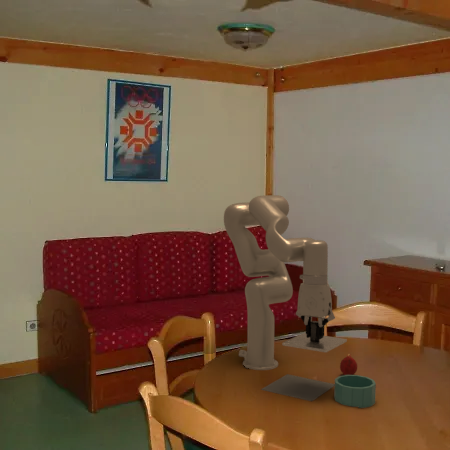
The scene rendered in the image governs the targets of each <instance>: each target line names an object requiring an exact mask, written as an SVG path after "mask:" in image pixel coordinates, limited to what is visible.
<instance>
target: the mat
mask: <svg viewBox="0 0 450 450" xmlns="http://www.w3.org/2000/svg"><path fill="white" fill-rule="evenodd" d="M333 388H335V383H331V382H325V381H322V380H318V379H312V378H308V377H307V378H306V377H304V376H303V377H302V376H298V375H294V374H288V373H287V374H285V375H284V376H282V377H280V378H279V379H276V380H275V381H273V382H271V383H270V384H268V385H265V386H264V387H263V388H261V389H260V390H261V391H265V392H270V393H274V394H278V395H281V396H287V397H292V398H295V399H299V400H303V401H308V402H314V401H315V400H316V399H318V398H319V397H321V396H322V395H323V394H325V393H326V392H328V391H329V390H331V389H333Z"/></svg>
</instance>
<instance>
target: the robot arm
mask: <svg viewBox="0 0 450 450" xmlns="http://www.w3.org/2000/svg"><path fill="white" fill-rule="evenodd" d="M289 212H290V205H289V202H288V199H286V198H285V197H284V196H282V195H278V194H275V195H274V194H273V195H270V194H269V195H267V194H266V195H257V196H255V197H253V198H252V199H250V201H249V202H237V203H235V202H234V203H232V204H230V205H228V206H227V207H226V208H225V210H224V212H223V225H224V229H225V231H226V233H227V235H228V237H229V239H230V240H231V242H232V245H233V247H234V250H235V254H236V257H237V259H238V260H237V261H238V263H239V265H240V268H241V271H242V273H243V274H244V276H246V277H249V278H253V279H251V280H249V281H248V282H247V283H246V284H245V287H244V295H245V300H246V307H247V309H246V310H247V350H245V349H240V350H239V351H238V357H241V358H243V362H242V366H243V365H244V366H245V367H244V366H243V367H244V368H246V369H248V368H249V370H255V371H269V370H273V369H277V368H278V366H279V362H278V361H277V360H276V359H275V314H274V313H273V311H272V309H271V308H270V305H271V304H272V305H273V304H279V303H286V302H288V301H290V299H292V297H293V294H294V293H293V292H294V290H293V289H294V288H293V284H292V280H291V277H290V275H289V271H288V270H287V267H286V263H295V262H302V263H303V265H302V267H303V268H302V274H299V279H300V280H302V283H300V286H299V290H298V298H297V310H296V312H295V316H297V317H298V318H300V319H301V320H302V322H303V324H304V325H305V333H306V334H307V338H309V337H310V322H311V321H313V318H317V321H318V322H319V326H318V327H317V339H322V338H323V336H325V326H326V325H327V324H328V323H329V322H331V321H334V320H335V319H336V317H335V314H334V312H333V307H332V306H333V301H332V300H333V299H332V293H331V287H330V284H328V269H329V267H328V266H329V265H328V264H329V263H328V261H329V260H328V257H329V256H328V253H329V252H328V248H329V247H328V246H329V245H328V243H327V242H326V241H325V240H320V239H315V238H311V237H291V238H290V237H289V238H284V237H283V236H282V235H283V234H284V233H285V232H286V231H287V229H288V228H289V225H290V220H289V218H288V214H289ZM247 226H261V227H262V228H263V230H264V231H265V244H266V247H267V249H262V248H260V246H259V244H258V241H257V238H256V237H255V235H254V234H253V233H252V232H251V231H250V230H249V229H248V228H247ZM255 277H256V278H255Z"/></svg>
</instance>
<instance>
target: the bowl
mask: <svg viewBox="0 0 450 450" xmlns="http://www.w3.org/2000/svg"><path fill="white" fill-rule="evenodd" d="M334 384H335V386H334V387H333V388H334V390H333V391H334V392H333V393H334V394H333V395H334V396H333V397H334V400H335V402H337V403H338V404H341V405H344V406H348V407H353V408H355V407H357V408H358V409H364V408H370V407H373V405H375V404H376V393H377V391H376V388H377V386H376V381H375V380H374V379H373V378H370V377H369V376H364V375H360V374H359V375H358V374H353V375H344V374H343V375H338V376H337V377H336V378H334Z"/></svg>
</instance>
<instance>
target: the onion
mask: <svg viewBox="0 0 450 450" xmlns="http://www.w3.org/2000/svg"><path fill="white" fill-rule="evenodd" d="M339 369H340V372H341V373H342V375H343V376H344V375H356V373H357V371H358V363H357V360H355V358H354V357H352V354H350V353H348V354H347V355H346V357H344V358H343V359H342V360H341V362H340V365H339Z"/></svg>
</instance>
